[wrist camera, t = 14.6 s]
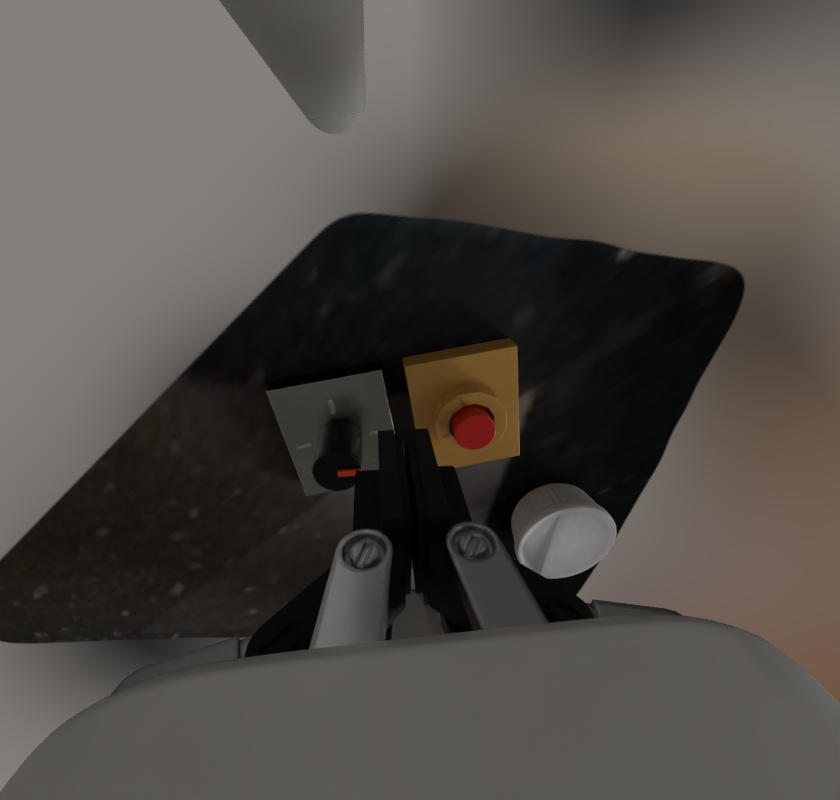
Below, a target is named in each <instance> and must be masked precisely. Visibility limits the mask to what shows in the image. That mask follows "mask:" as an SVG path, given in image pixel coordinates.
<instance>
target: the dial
mask: <svg viewBox="0 0 840 800" xmlns="http://www.w3.org/2000/svg"><path fill="white" fill-rule="evenodd" d="M362 446H363V437H362V433H361V431H360V429H359V428H358V427H357V426H356V425H355V424H353V423H351V422H349V421H345V420H336V421H332V422H330V423H328V424H326V425H325V426H324V427H323V428H322V429H321V431H320V433H319V438H318V443H317V448H316V453H315V458H314V463H313V468H312V474H313V477H314V479H315V481H316V482H317V483H318V484H319V485H320V486H322V487H323V488H326V489H329V490H333V491H341V490H346V489H349V488H351V487H353V486H354V485H355V473H356V471H362Z"/></svg>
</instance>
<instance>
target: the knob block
mask: <svg viewBox="0 0 840 800" xmlns="http://www.w3.org/2000/svg"><path fill="white" fill-rule="evenodd" d="M403 364H404V369H405V375H406V380H407V386H408V391H409V397H410V402H411V408H412V413H413V419H414V424H415V429H425V428H427V429H428V431H429V434H430V438H431V442H432V446H433V449H434V453H435V457H436V461H437V464H438V466H454V468H458V467H463V466H468V465H473V464H478V463H483V462H488V461H493V460H498V459H503V458H508V457H513V456H518V455H520V441H519V401H518V360H517V345H516V344H515V343H514V342H513V341H512V340H511V339H510V338H506V339H500V340H495V341H490V342H484V343H479V344H473V345H468V346H463V347H457V348H452V349H446V350H441V351H436V352H430V353H425V354H419V355H414V356H408V357H403ZM467 406H480V407H482V408H484V409H485V410H486V411H487V412H488V413H489V415H490V417H491V419H492V420H493V422H494V424H495V428H496V432H495V436H494V438H493V439H492V441H491V442H490V443H489V444H488V445H486V446H485V447H483V448H480V449H476V450H469V449H465V448H463V447H461V446H460V445H459V444H458V443H457V441H456V438H455V436H454V433H453V430H452V426H451V424H452V419H453V417H454V415H455V414H456V413H457V412H458V411H459V410H461V409H462V408H464V407H467Z"/></svg>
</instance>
